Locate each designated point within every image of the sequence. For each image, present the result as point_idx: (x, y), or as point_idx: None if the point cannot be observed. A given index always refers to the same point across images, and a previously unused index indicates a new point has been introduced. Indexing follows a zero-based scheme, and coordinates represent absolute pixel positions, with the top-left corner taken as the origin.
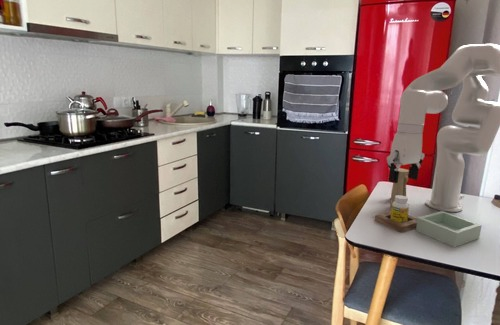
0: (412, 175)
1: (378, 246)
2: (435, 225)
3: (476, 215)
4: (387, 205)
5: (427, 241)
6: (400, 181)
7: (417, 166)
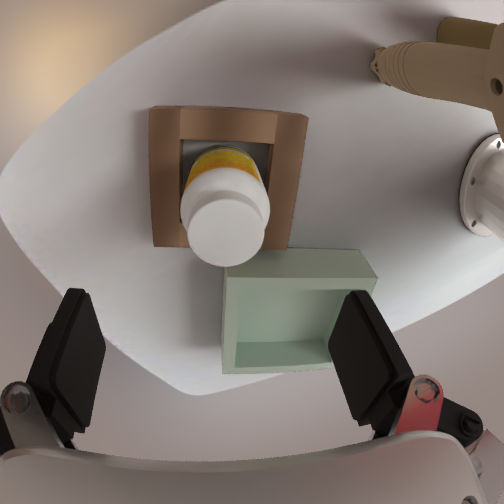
0: (345, 343)
1: (35, 259)
2: (224, 329)
3: (472, 265)
4: (377, 32)
5: (184, 302)
6: (467, 97)
7: (371, 436)
